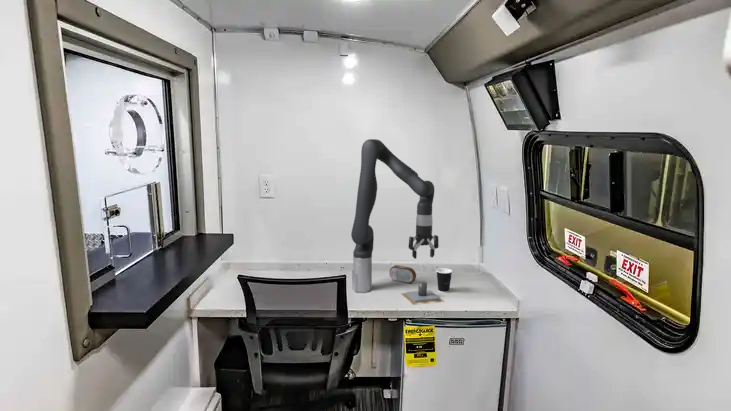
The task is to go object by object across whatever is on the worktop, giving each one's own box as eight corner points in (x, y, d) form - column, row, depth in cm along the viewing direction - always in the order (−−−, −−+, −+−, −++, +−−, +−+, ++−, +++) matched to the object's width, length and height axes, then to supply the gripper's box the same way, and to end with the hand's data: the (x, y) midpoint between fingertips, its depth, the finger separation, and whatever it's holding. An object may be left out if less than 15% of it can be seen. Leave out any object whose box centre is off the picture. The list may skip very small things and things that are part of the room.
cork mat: (412, 305, 212) (413, 304, 212) (400, 294, 227) (400, 293, 227) (445, 302, 217) (445, 301, 217) (430, 291, 232) (430, 290, 232)
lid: (415, 302, 215) (415, 287, 214) (406, 294, 226) (406, 280, 225) (439, 300, 218) (439, 285, 217) (428, 292, 229) (429, 278, 228)
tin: (416, 283, 245) (416, 268, 244) (413, 285, 242) (414, 269, 241) (391, 278, 253) (391, 263, 252) (388, 280, 250) (388, 265, 249)
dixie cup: (449, 295, 226) (450, 273, 225) (433, 293, 230) (434, 271, 228) (453, 290, 234) (454, 269, 232) (437, 288, 237) (438, 267, 235)
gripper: (434, 221, 222) (433, 254, 225) (406, 223, 218) (406, 256, 221) (441, 224, 215) (440, 258, 218) (412, 225, 211) (412, 260, 214)
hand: (423, 257), depth 219 cm, fingers open, 8 cm apart
